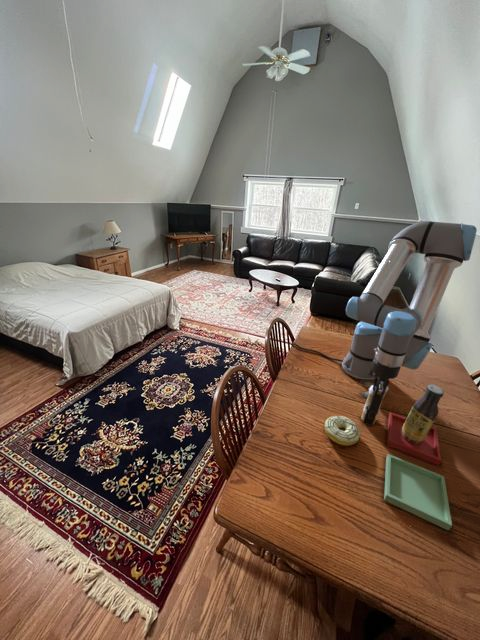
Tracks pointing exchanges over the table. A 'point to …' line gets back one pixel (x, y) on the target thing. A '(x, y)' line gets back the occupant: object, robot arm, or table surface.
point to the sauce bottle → (422, 415)
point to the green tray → (417, 491)
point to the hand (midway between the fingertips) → (368, 418)
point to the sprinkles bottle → (369, 403)
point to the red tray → (423, 450)
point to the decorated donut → (339, 436)
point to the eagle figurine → (368, 383)
